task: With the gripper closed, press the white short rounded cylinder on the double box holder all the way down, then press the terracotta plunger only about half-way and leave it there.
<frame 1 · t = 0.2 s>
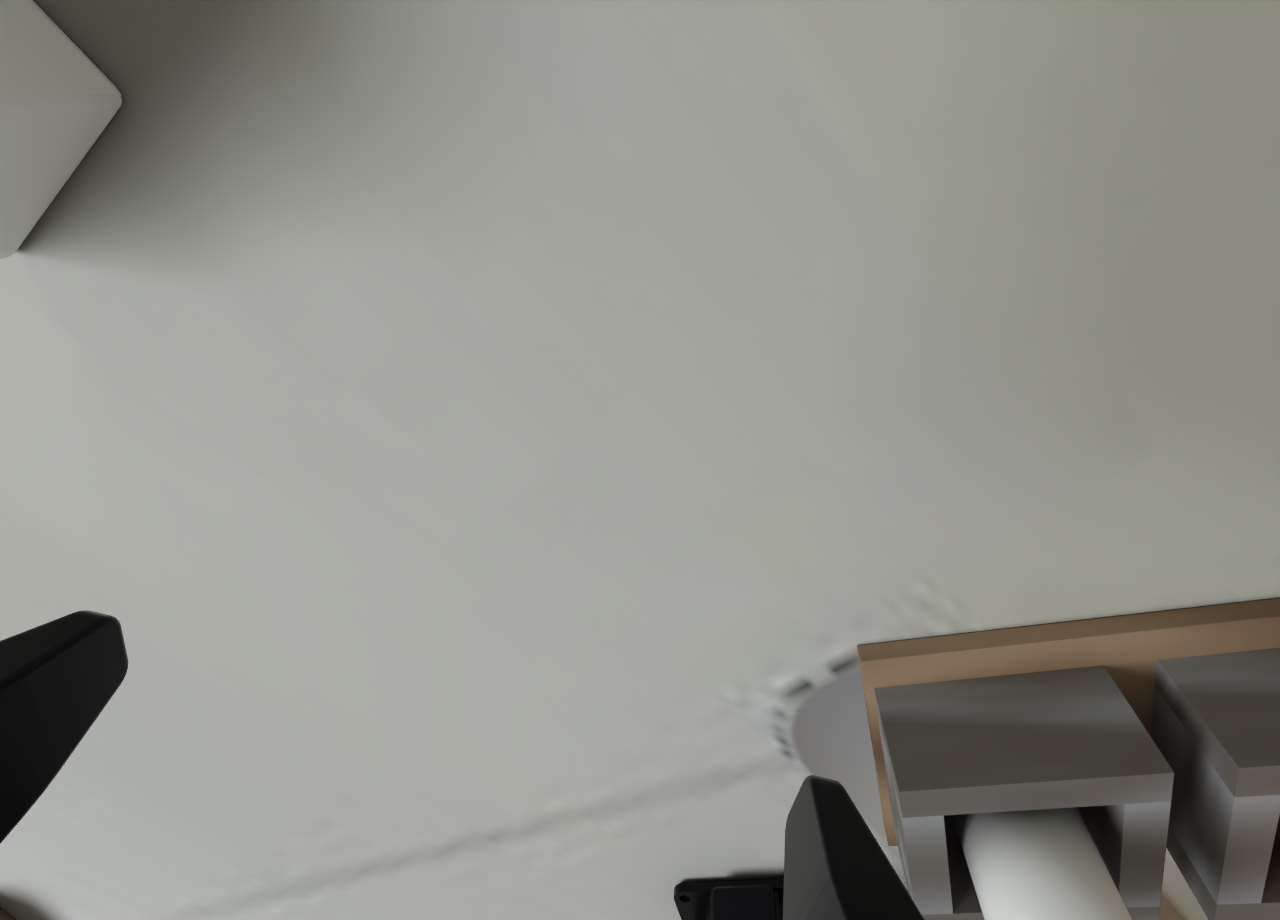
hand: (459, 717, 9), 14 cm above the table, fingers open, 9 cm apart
double box holder: (1114, 723, 25), on the table
white short rounded cylinder: (1045, 894, 21), point 6 cm above the table, slide at 0.0 cm
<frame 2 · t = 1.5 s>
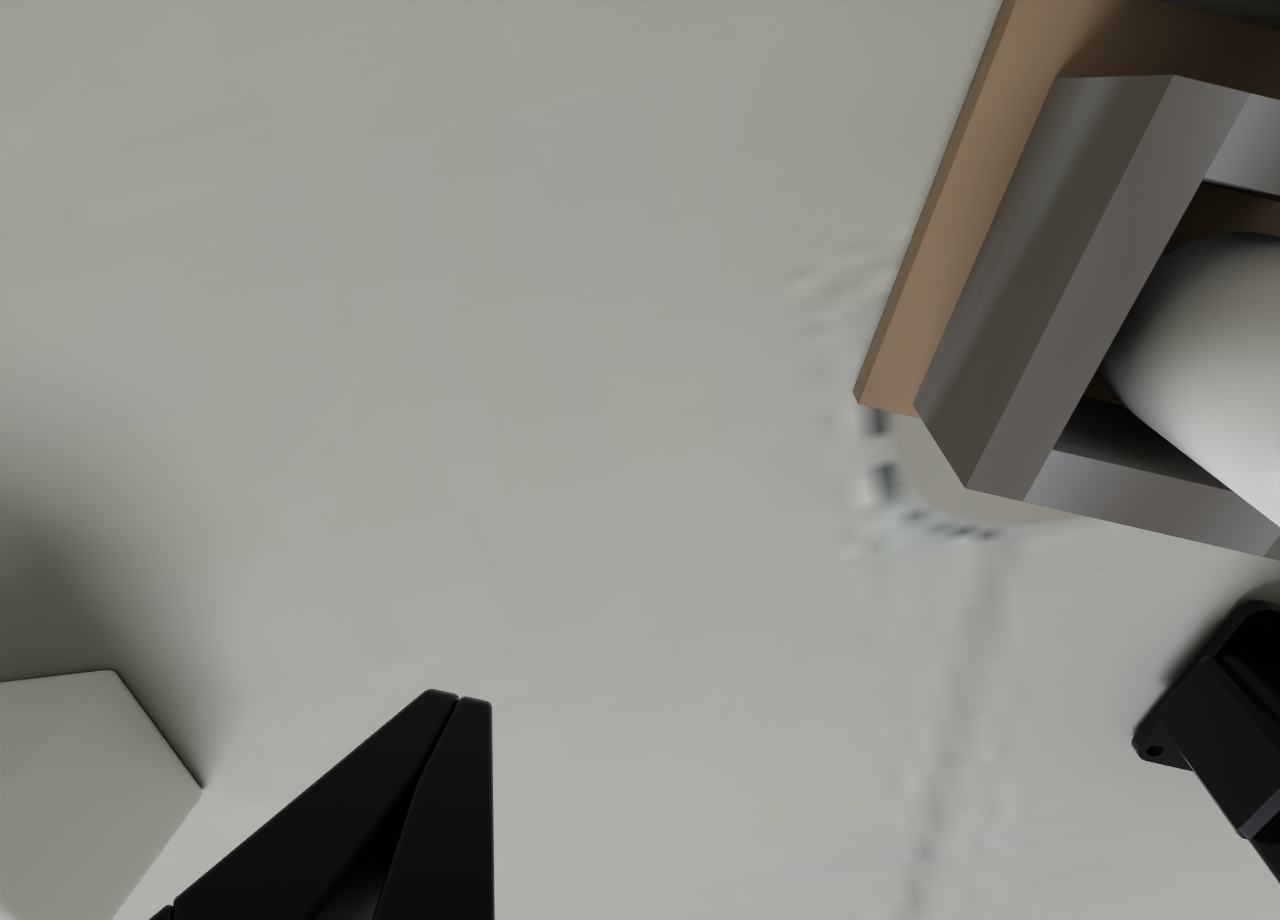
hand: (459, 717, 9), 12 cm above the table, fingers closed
double box holder: (1227, 77, 15), on the table
medicine bottle: (94, 735, 29), on the table
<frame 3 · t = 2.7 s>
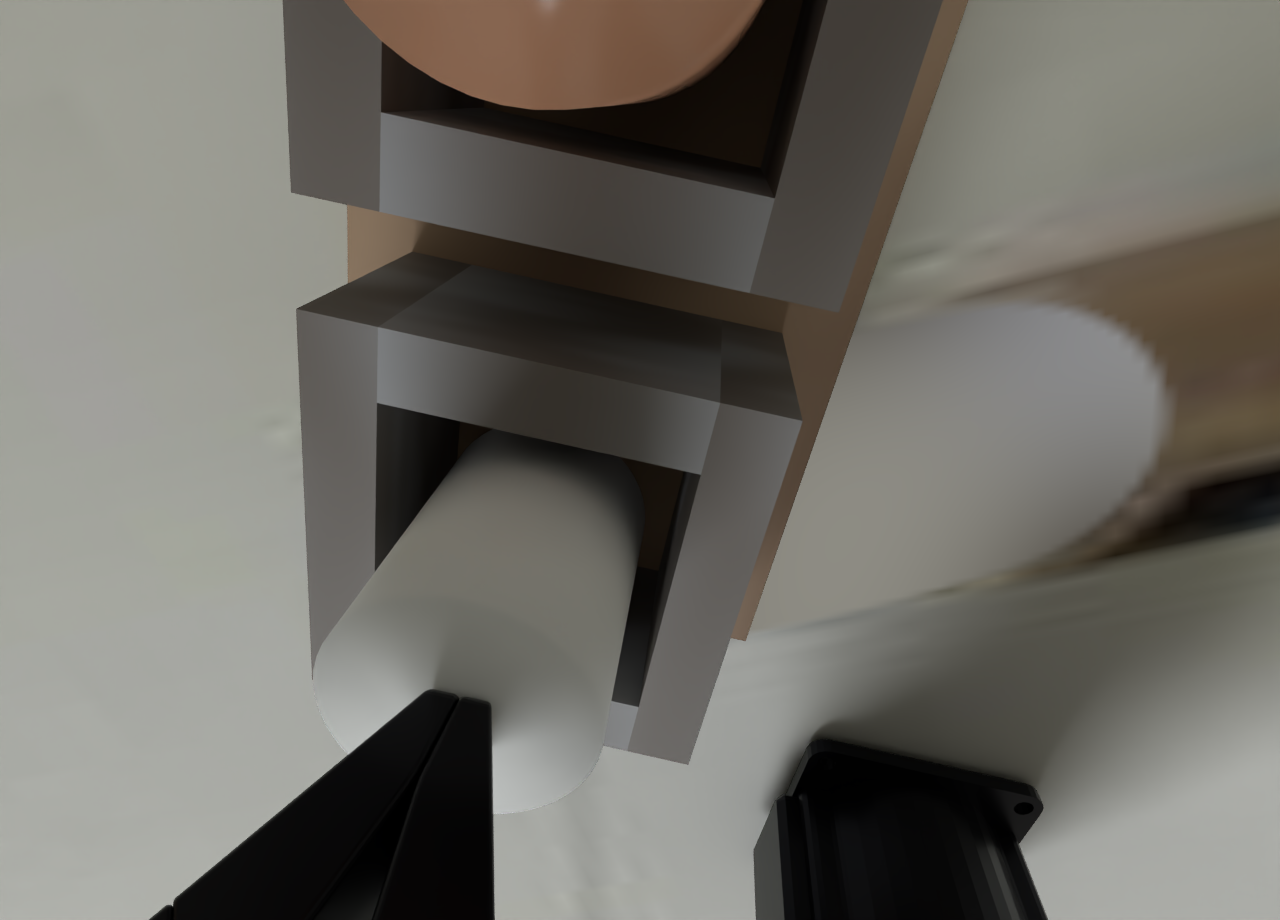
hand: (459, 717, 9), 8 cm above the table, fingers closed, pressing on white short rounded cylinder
double box holder: (609, 243, 14), on the table
white short rounded cylinder: (510, 593, 11), point 6 cm above the table, slide at 0.4 cm, touching gripper
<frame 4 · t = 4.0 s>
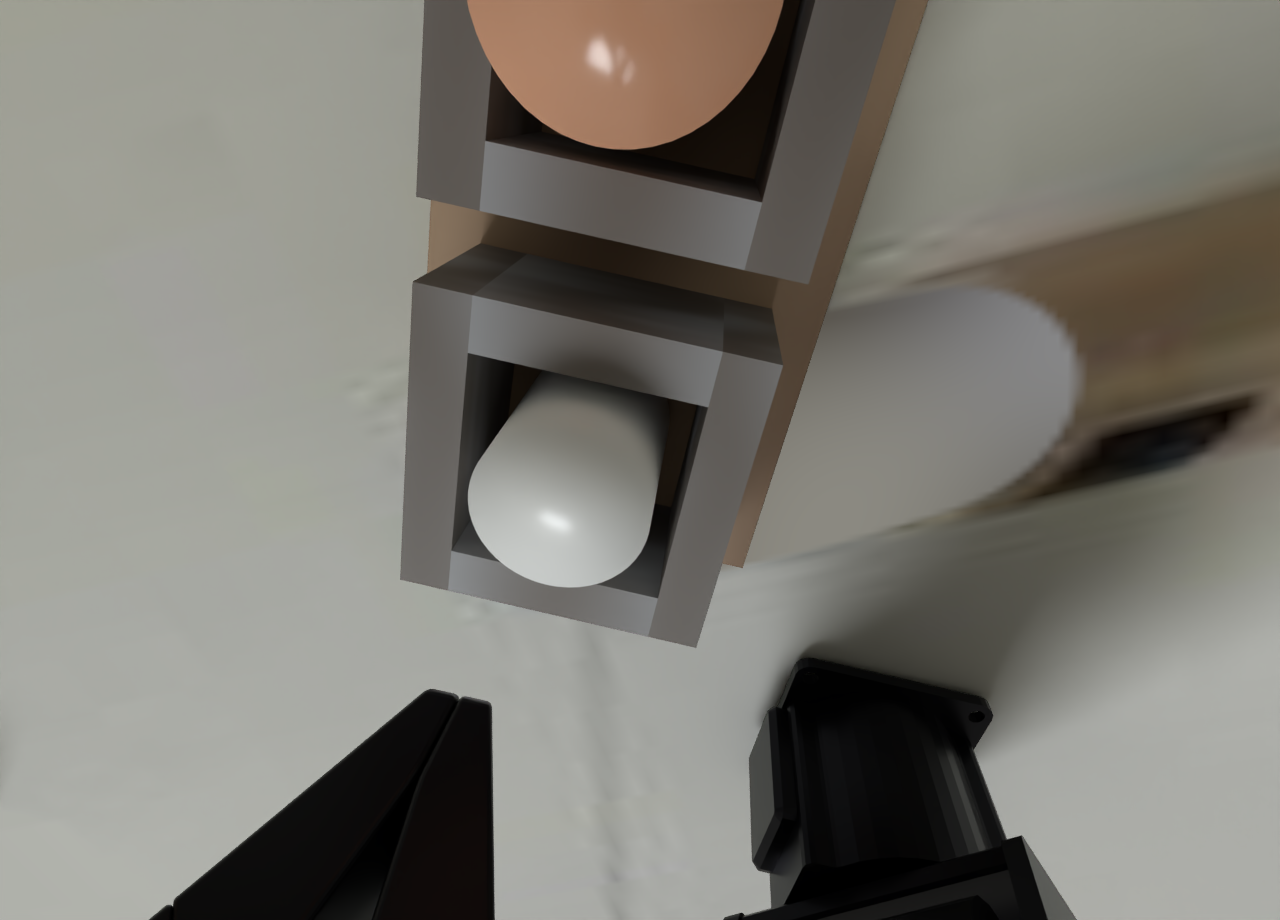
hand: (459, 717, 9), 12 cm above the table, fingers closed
double box holder: (635, 237, 18), on the table
white short rounded cylinder: (581, 457, 17), point 4 cm above the table, slide at 2.3 cm
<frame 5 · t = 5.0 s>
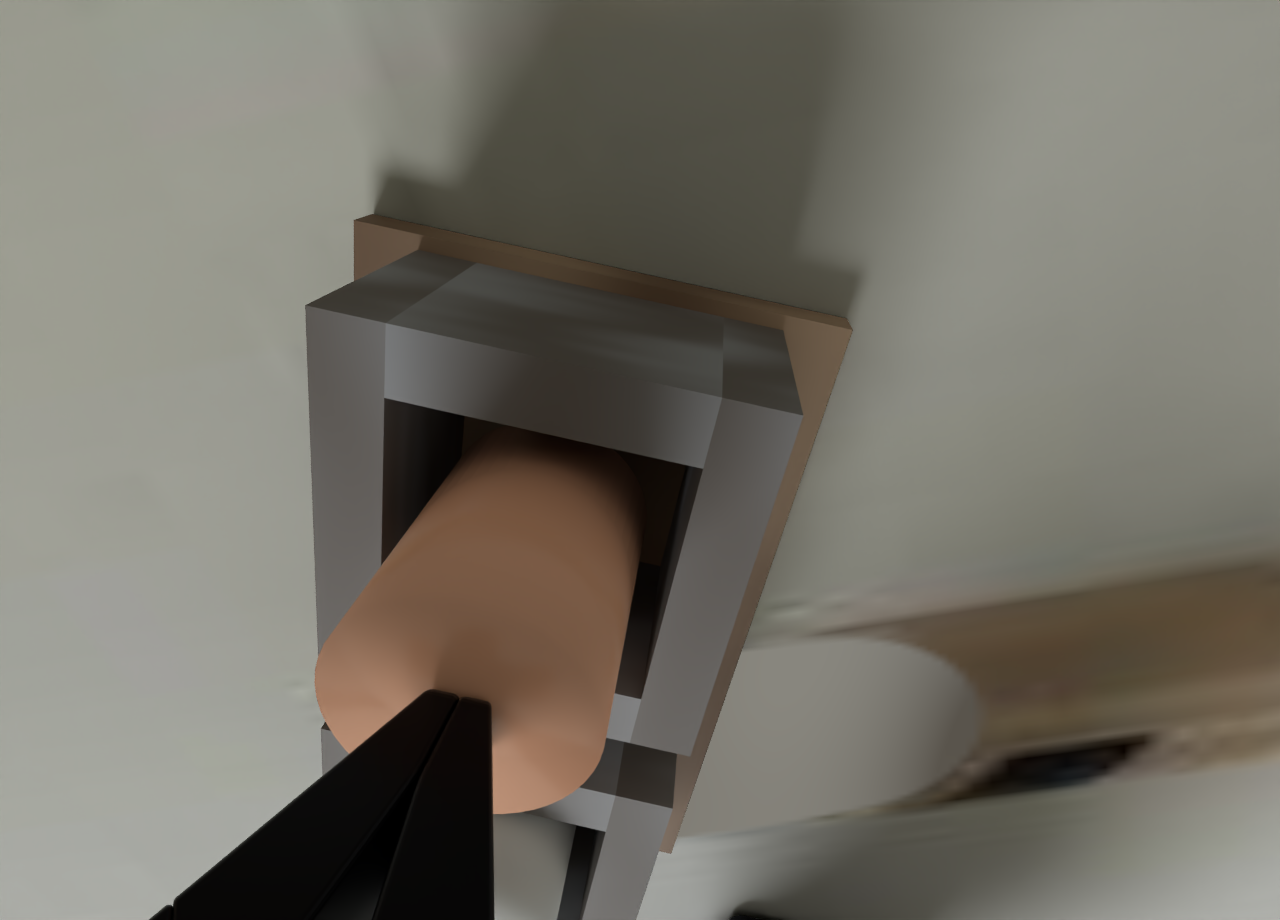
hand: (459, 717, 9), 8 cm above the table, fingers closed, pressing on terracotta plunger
double box holder: (554, 587, 18), on the table
white short rounded cylinder: (498, 821, 17), point 4 cm above the table, slide at 2.3 cm
terracotta plunger: (512, 593, 11), point 6 cm above the table, slide at 0.2 cm, touching gripper
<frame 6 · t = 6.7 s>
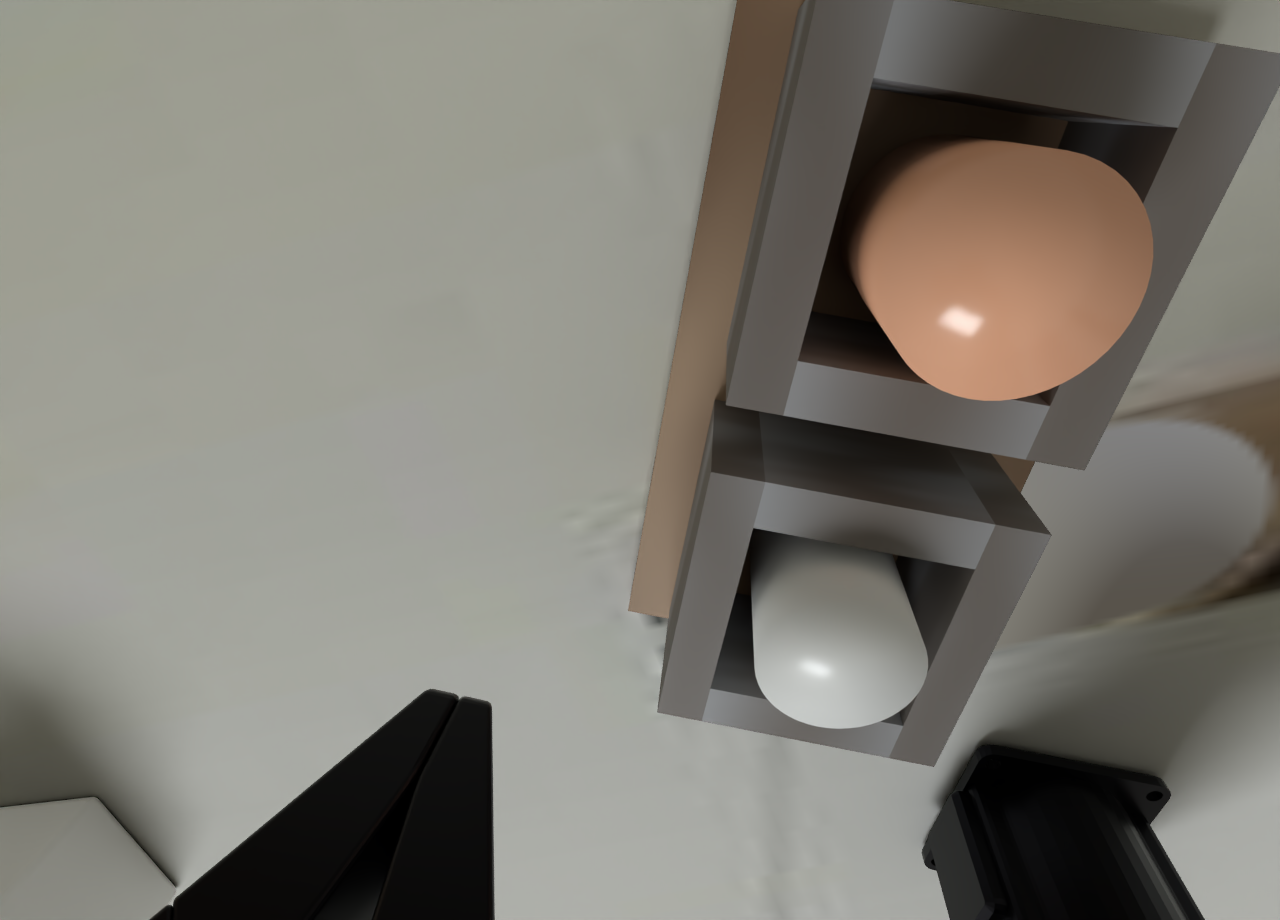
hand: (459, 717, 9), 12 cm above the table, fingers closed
double box holder: (854, 386, 19), on the table
white short rounded cylinder: (826, 598, 18), point 4 cm above the table, slide at 2.3 cm
terracotta plunger: (965, 253, 13), point 5 cm above the table, slide at 1.2 cm
medicine bottle: (86, 844, 34), on the table
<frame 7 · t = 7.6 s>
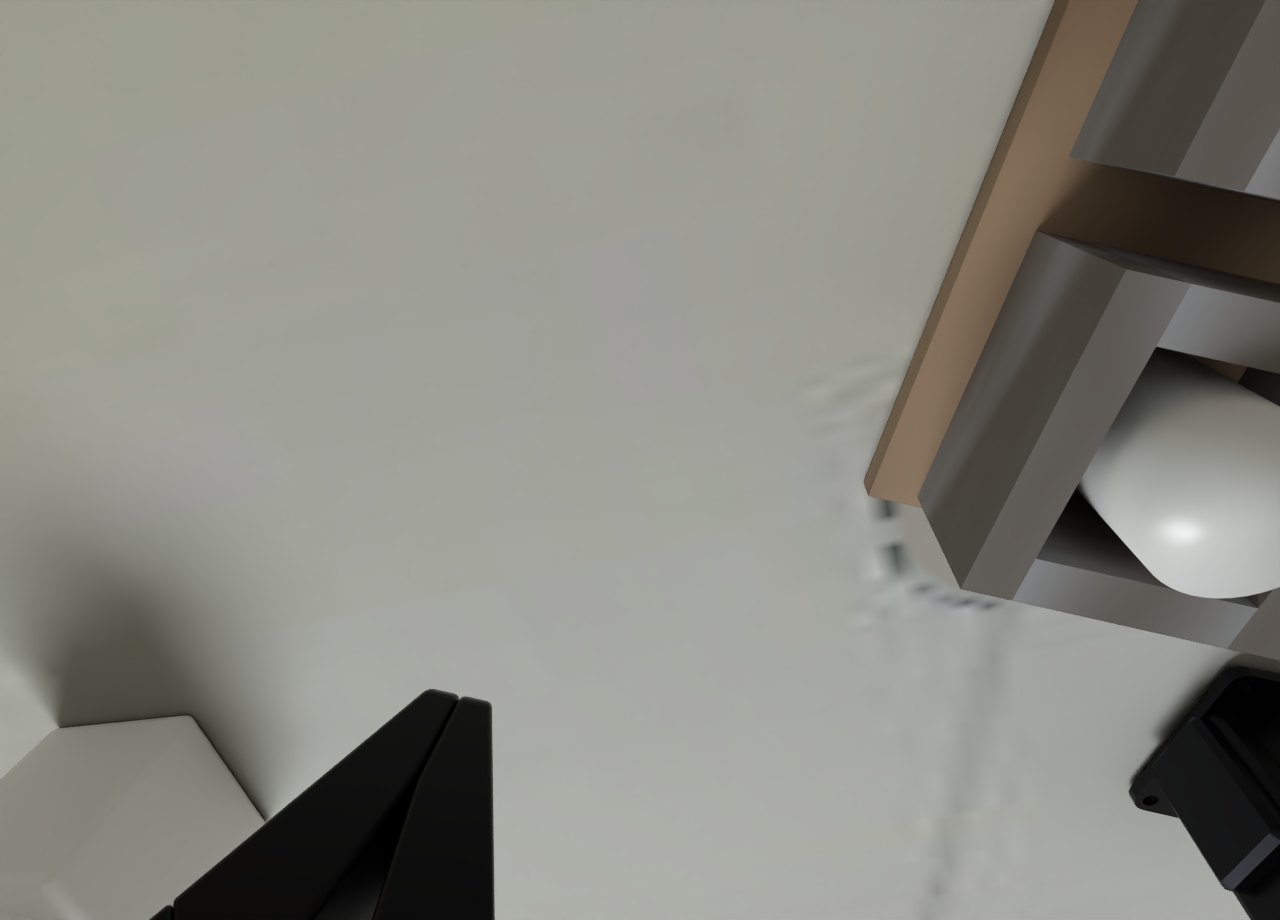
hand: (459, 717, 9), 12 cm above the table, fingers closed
double box holder: (1191, 224, 17), on the table
white short rounded cylinder: (1174, 458, 16), point 4 cm above the table, slide at 2.3 cm
medicine bottle: (169, 772, 31), on the table
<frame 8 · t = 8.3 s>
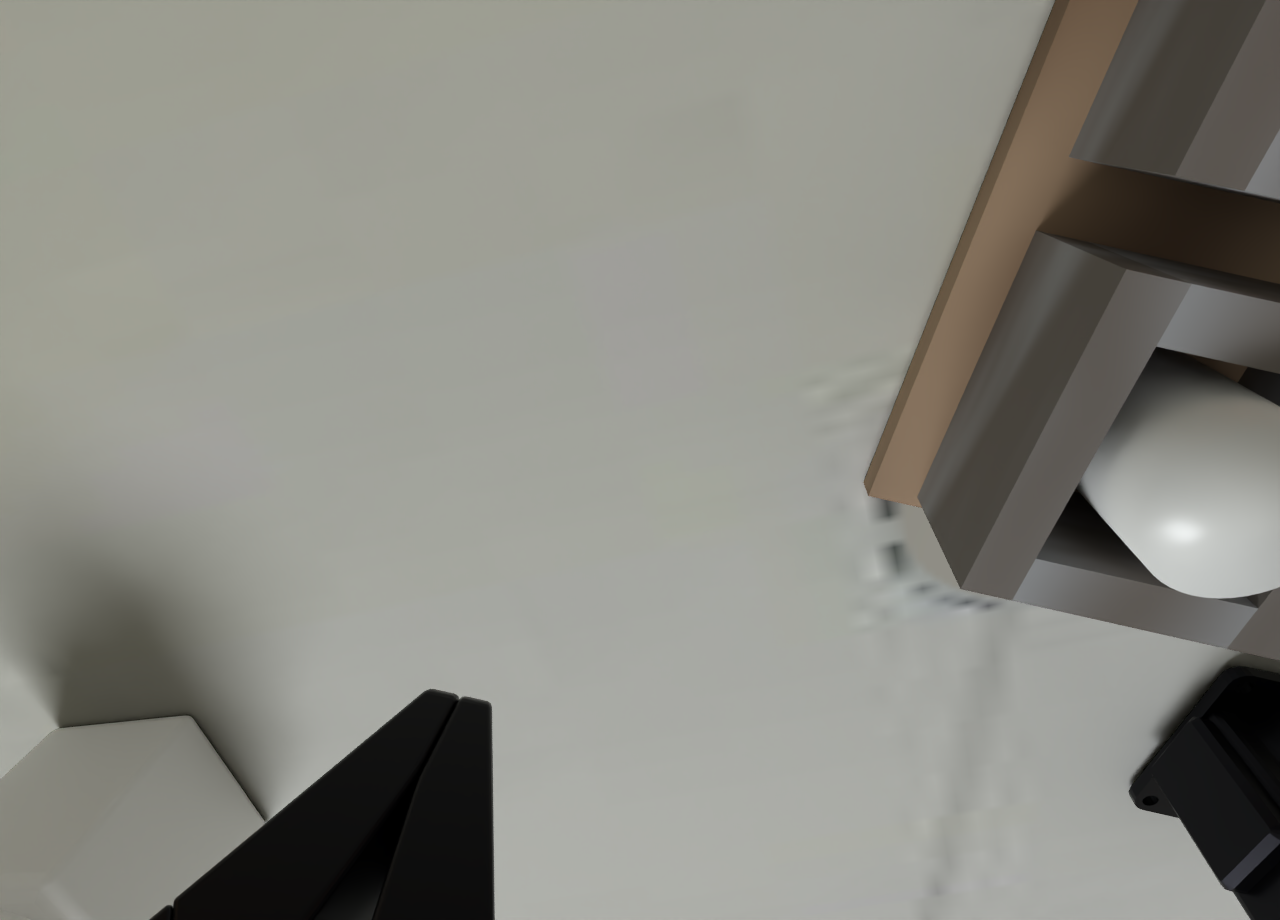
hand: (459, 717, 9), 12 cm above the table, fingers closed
double box holder: (1191, 224, 17), on the table
white short rounded cylinder: (1174, 458, 16), point 4 cm above the table, slide at 2.3 cm
medicine bottle: (169, 772, 31), on the table
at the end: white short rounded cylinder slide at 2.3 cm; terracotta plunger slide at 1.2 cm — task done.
